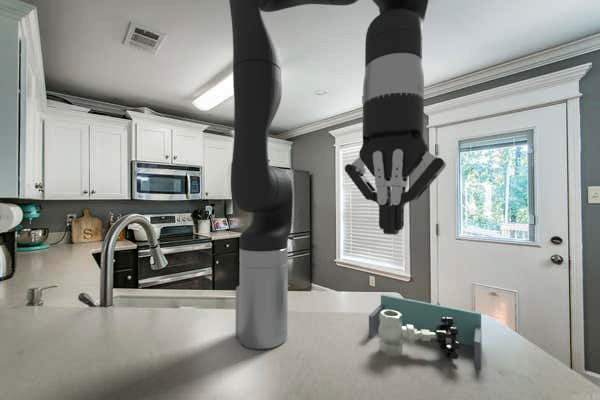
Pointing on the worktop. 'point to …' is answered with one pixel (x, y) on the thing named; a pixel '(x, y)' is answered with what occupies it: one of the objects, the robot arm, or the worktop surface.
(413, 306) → the walled bay
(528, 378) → the worktop surface
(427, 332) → the valve
